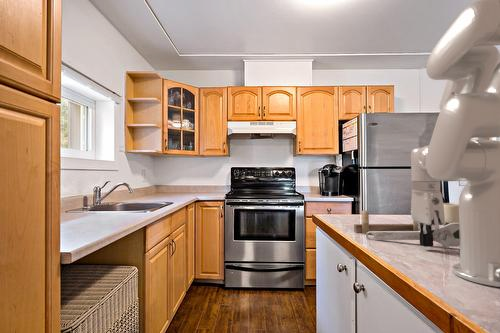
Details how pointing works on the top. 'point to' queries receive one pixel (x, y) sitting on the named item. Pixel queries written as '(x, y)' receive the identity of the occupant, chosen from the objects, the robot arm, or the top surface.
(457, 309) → the top surface
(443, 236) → the wrench
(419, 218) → the robot arm
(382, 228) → the peg rack
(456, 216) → the character mug
